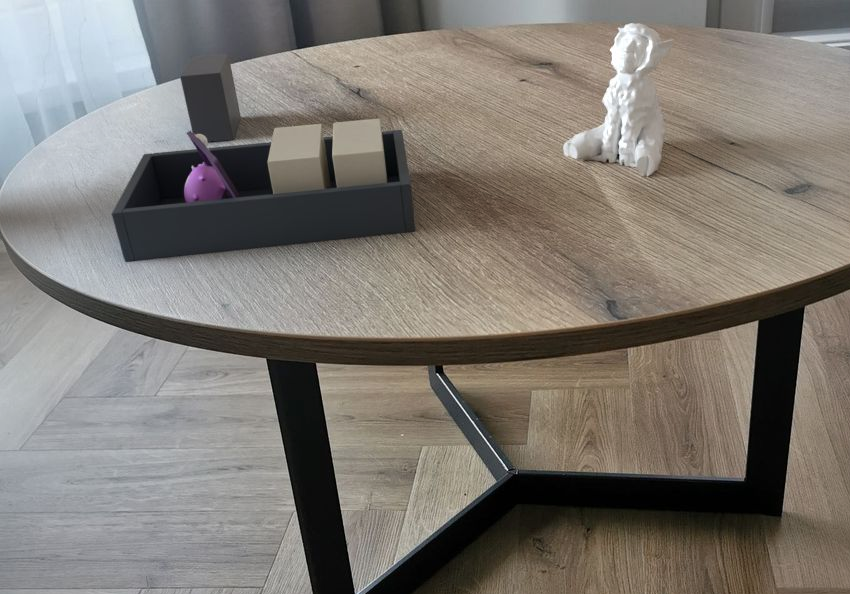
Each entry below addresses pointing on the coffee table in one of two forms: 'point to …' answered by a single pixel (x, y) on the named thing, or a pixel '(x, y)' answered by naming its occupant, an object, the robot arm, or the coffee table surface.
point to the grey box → (211, 97)
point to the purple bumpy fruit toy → (207, 176)
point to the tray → (254, 205)
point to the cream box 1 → (298, 159)
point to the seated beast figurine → (629, 106)
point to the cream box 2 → (358, 153)
